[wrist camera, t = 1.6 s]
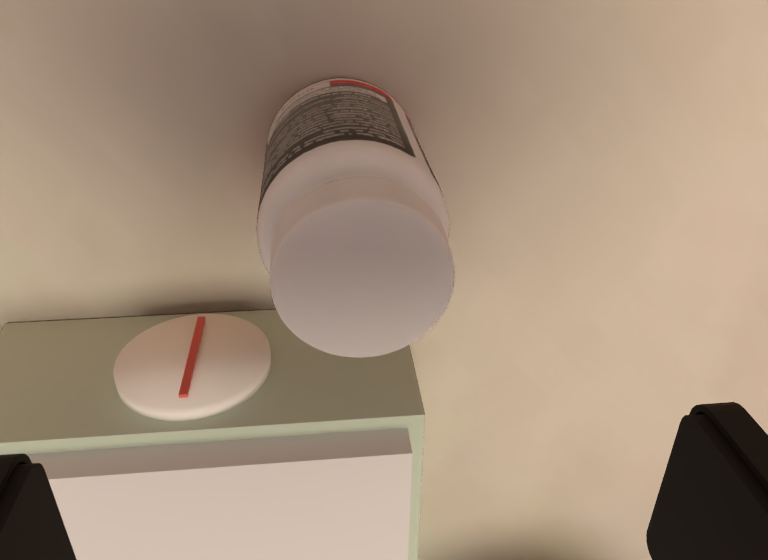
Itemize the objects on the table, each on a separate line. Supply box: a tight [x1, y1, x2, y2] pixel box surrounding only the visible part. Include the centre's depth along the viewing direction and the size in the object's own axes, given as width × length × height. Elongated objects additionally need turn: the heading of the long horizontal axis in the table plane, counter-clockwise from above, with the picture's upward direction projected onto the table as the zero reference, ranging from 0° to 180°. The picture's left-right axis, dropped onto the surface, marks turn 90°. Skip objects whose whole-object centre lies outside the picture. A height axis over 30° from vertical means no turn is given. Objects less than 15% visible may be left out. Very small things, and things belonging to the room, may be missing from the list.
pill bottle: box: [257, 78, 454, 358], centre depth 17 cm, size 5×5×8 cm
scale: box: [0, 309, 425, 560], centre depth 24 cm, size 15×14×7 cm
